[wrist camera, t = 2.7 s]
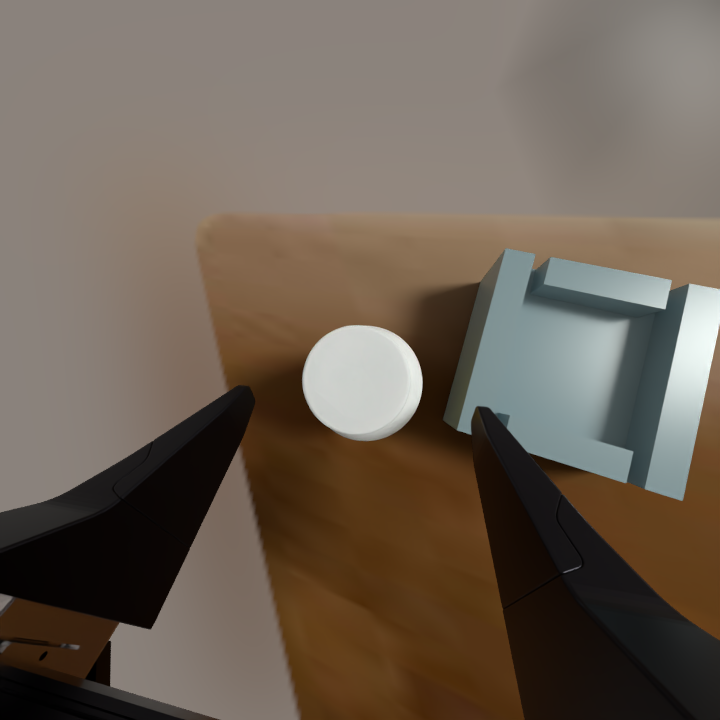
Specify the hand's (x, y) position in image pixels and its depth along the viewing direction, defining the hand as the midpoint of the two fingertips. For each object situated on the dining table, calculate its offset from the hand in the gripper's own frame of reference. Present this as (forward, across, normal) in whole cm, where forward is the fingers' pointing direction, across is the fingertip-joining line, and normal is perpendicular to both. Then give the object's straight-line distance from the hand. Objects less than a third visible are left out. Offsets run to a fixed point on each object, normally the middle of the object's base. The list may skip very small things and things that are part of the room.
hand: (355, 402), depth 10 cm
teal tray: (+8, -11, +4) cm, 14 cm away
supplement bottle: (+7, 0, +6) cm, 9 cm away
